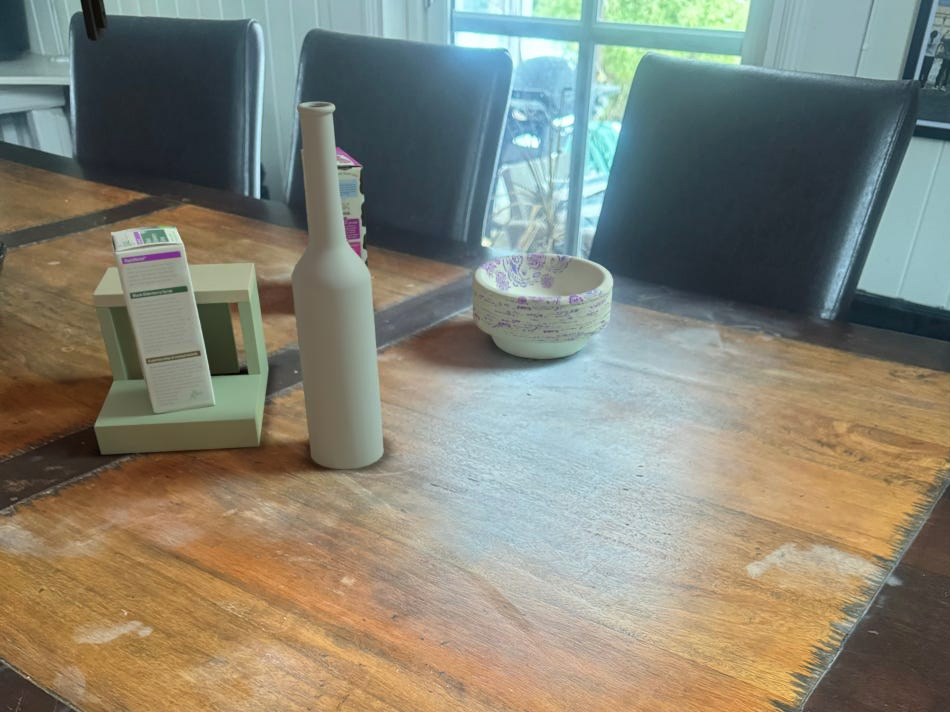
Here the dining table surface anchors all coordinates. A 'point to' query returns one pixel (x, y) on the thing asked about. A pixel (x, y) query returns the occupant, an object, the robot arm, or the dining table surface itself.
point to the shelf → (237, 396)
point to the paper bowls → (541, 303)
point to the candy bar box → (349, 201)
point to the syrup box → (163, 317)
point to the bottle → (334, 315)
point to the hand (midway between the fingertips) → (39, 38)
